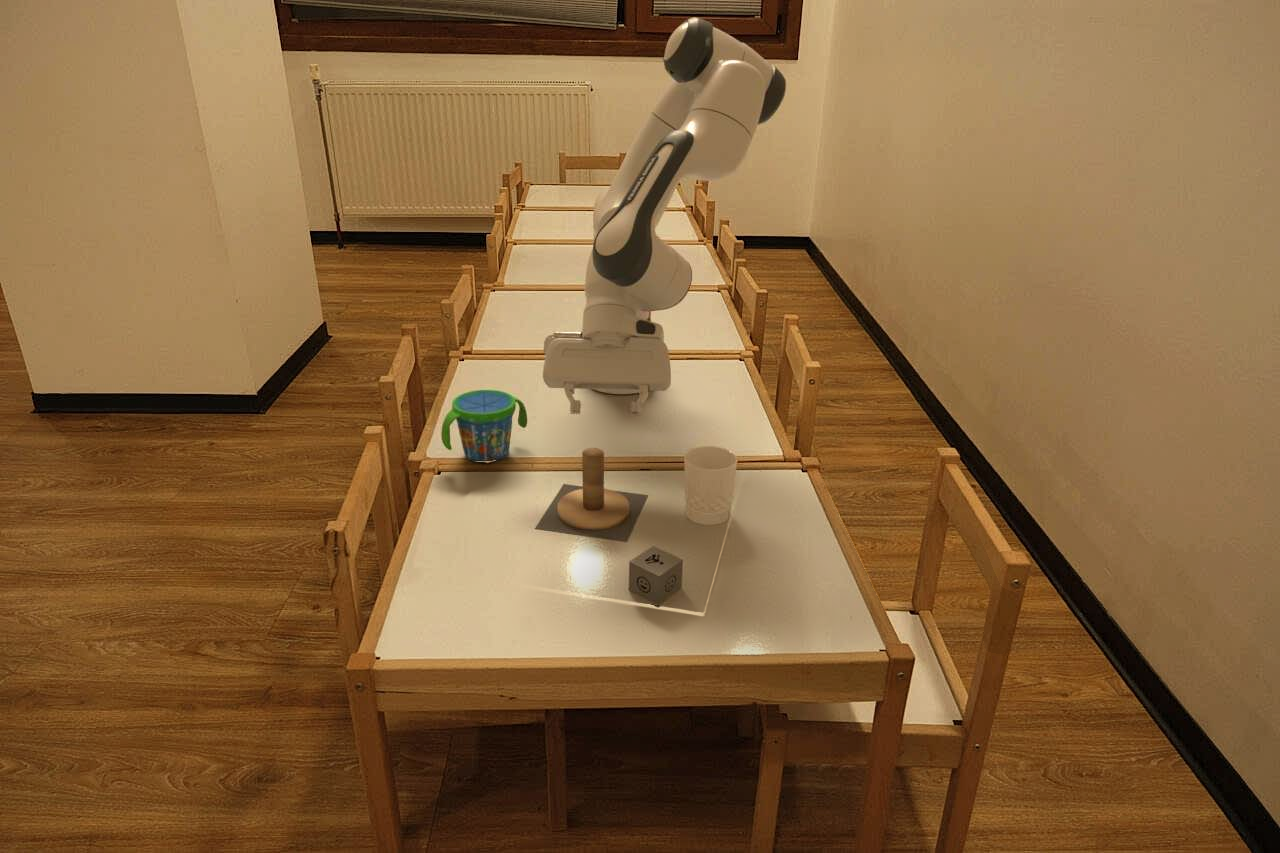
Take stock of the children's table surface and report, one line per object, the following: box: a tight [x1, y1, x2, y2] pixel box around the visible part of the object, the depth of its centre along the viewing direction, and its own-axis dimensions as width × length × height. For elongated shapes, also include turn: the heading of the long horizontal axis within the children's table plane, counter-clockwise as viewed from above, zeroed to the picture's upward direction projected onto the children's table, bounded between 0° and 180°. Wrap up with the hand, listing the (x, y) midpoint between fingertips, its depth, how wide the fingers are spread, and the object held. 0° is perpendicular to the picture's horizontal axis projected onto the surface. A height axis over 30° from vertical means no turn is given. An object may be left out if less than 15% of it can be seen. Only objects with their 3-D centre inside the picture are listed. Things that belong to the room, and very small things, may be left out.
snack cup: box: [440, 389, 528, 462], centre depth 152 cm, size 16×10×10 cm
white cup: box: [683, 445, 738, 526], centre depth 135 cm, size 8×8×10 cm
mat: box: [534, 483, 649, 543], centre depth 137 cm, size 14×14×1 cm
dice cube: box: [628, 545, 684, 609], centre depth 119 cm, size 5×5×5 cm
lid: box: [557, 447, 630, 530], centre depth 135 cm, size 11×11×10 cm
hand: (605, 413), depth 139 cm, fingers open, 8 cm apart
